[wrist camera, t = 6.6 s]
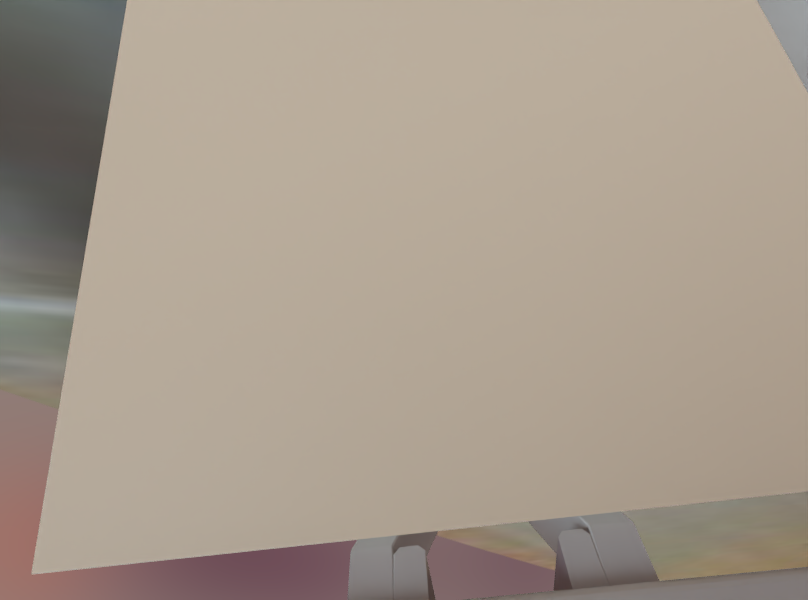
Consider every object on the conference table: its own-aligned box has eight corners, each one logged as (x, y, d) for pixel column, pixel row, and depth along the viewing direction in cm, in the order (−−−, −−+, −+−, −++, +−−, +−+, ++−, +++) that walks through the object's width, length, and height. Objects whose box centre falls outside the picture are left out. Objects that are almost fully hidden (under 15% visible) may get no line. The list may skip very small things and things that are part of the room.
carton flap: (56, 569, 10) (31, 574, 9) (159, -119, 18) (150, -138, 18) (979, 471, 9) (1014, 469, 8) (623, -209, 17) (629, -232, 17)
